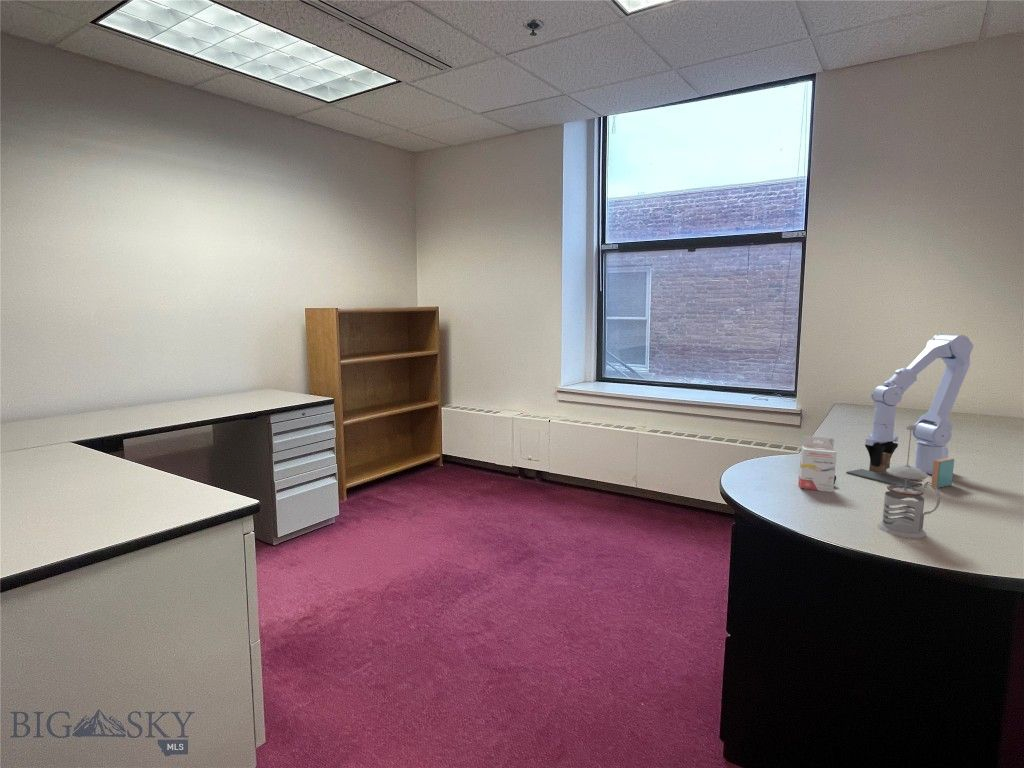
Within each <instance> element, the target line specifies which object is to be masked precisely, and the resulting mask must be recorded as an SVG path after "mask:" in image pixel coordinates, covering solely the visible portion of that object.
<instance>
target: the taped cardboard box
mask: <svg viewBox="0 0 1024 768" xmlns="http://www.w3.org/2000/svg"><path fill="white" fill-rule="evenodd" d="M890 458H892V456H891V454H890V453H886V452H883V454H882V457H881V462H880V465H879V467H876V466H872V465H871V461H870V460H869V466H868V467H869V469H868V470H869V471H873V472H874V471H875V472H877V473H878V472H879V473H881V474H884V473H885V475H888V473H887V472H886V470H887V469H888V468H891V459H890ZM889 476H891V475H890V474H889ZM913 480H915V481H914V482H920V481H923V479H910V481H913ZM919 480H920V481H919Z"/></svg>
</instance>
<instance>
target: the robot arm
mask: <svg viewBox="0 0 1024 768" xmlns="http://www.w3.org/2000/svg"><path fill="white" fill-rule="evenodd" d="M973 349H974V344H973V342H972V341H971V339H970V338H969V337H968V336H967V335H964V334H959V335H957V334H945V333H944V334H943V333H938V334H936V335H934V336H933V337H932V338H931V339H930V340H928V341H927V343H926V347H925V348H924V349H922V351H921V352H920V353H919V355H917V356H916V358H914V359H913V361H912V362H911V363H910V364H909V365H908V366H907V367H901V368H899V369H896V370H895V371H894V374H893V375H892V376H891V377H890V378H889V379H888V380H885V381H884V382H883V385H878V386H877V387H875V388H874V389H873V391H872V393H871V394H870V397H871V400H873V407H874V410H873V421H872V431H871V432H872V433H871V434H868V437H867V438H865V442H864V446H865V448H866V451H867V452H868V455H869V459H870V460H869V462H870V461H871V465H872V466H876V467H879V465H880V462H881V457H882V454H883V452H886V453H890V454H891V458H892V456H893V454H894V452H895V451H896V449H897V448H898V447H899V444H898V443H896V442H898V441H899V435H897V434H894V430H895V429H894V428H895V421H896V407H897V405H898V404H899V403H900V402H901V401H902V399H903V395H904V394H905V392H906V391H907V390H908V389H909V388H910V387H911V386H912V385H914V384H915V382H917V381H918V378H917V375H918V374H920V373H921V372H922V371H924V369H926V368H927V367H928V366H929V365H930V364H932V363H934V361H936V360H937V359H941V360H942V361H943V363H944V364H945V366H946V367H945V369H944V372H943V374H942V377H941V378H940V382H939V385H938V387H937V389H936V391H935V394H934V397H933V399H932V402H931V404H930V406H929V408H928V411H927V412H926V413H924V414H922V415H920V416H919V419H918V421H917V422H916V423H915V424H913V425H914V426H916V430H912V431H911V434H912V435H913V437H914V438H915V442H916V447H915V458H914V466H913V467H916V468H918V469H920V470H921V471H923V472H925V473H926V474H928V475H932V473H933V464H934V460H939V459H944V458H949V448H948V447H947V444H948V443H949V442H950V441H951V439H952V429H953V426H954V424H953V423H952V422H951V419H949V417H950V415H951V412H952V411H953V410H952V409H953V408H954V405H955V402H956V400H957V397H958V395H959V393H960V389H961V388H962V386H963V383H964V379H965V378H966V375H967V373H968V370H969V368H970V364H971V354H972V351H973ZM891 458H890V460H891Z"/></svg>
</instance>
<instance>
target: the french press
mask: <svg viewBox="0 0 1024 768" xmlns="http://www.w3.org/2000/svg"><path fill="white" fill-rule="evenodd" d="M914 425H915V424H908V425H906V427H905V429H906V430H907V431H909V432H910V433H909V441H908V449H907V450H908V452H907V453H908V454H907V462H906V464H904V465H902V464H899V465H896V466H895V465H894V466H892V467H891V466H890V468H888V469H887V470H886V472H887V473H888V474H890V475H889V476H892V475H893V477H897V478H902V479H905V478H906V480H905V486H902V485H900V486H899V485H890V484H889V485H887V486H886V489H887V490H888V491H885V493H884V500H883V508H882V509H883V512H882V521H880V522H879V523H877V524H876V527H877V528H878V529H879V530H881V531H882V532H884V533H887V534H891V535H895V536H898V537H902V538H903V537H904V538H912V539H913V538H915V539H916V538H917V539H918V538H920V539H921V538H924V537H927V532H926V531H925V530H924V522H925V521H924V519H925V515H930V514H932V513H934V512H935V511H936V510H937V509H938V508H939V505H940V503H941V498H942V497H941V496H942V495H941V493H940V491H939V488H937V487H936V486H935V485H933V484H932V482H930V481H926V482H925V483H924V484H923V488H924V489H926V488H928V486H929V487H931V488H932V489H933V490H934V491H935V494H936V497H937V501H936V505H935V507H934V508H933V509H932V510H928V511H925V512H924V509H925V507H924V506H925V497H923V495H924V494H925V493H924V490H922V489H920V488H917V487H909V486H908V487H907V486H906V481H907V480H909V479H922V480H924V479H927V478H928V476H929V474H928V473H925V472H923V471H921V470H920V469H918V468H916V467H914V466H910V465H909V458H910V450H911V441H912V440H911V439H912V430H916V426H914ZM888 474H887V475H888ZM931 484H932V485H933V486H934V487H935V488H933V487H932V486H931ZM907 498H908V499H907ZM905 499H907V500H905ZM910 499H915V500H916V501H915V500H910ZM892 506H899V507H892ZM896 511H899V512H896ZM899 516H900V517H899Z"/></svg>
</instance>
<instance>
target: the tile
mask: <svg viewBox="0 0 1024 768" xmlns="http://www.w3.org/2000/svg"><path fill="white" fill-rule="evenodd" d="M954 466H955V458H952V457H948V458H944V459H939V460H934V464H933V473H932V474H931V475H932V476H931V483H932V484H933V485H935V486H936V487H937V488H938V489H940V487H941V488H944V486H945V487H948V485H949V486H952V485H951V484H952V483H953V475H954V469H955V467H954ZM932 484H930V485H931V486H932V487H934V486H933V485H932ZM931 486H930V487H931ZM932 487H931V488H932Z"/></svg>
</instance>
